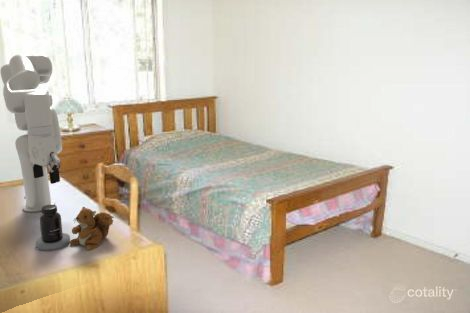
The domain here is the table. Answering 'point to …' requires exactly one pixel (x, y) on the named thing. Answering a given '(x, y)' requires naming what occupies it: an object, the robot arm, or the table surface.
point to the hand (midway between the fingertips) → (47, 179)
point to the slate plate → (53, 244)
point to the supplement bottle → (50, 224)
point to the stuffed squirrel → (91, 228)
